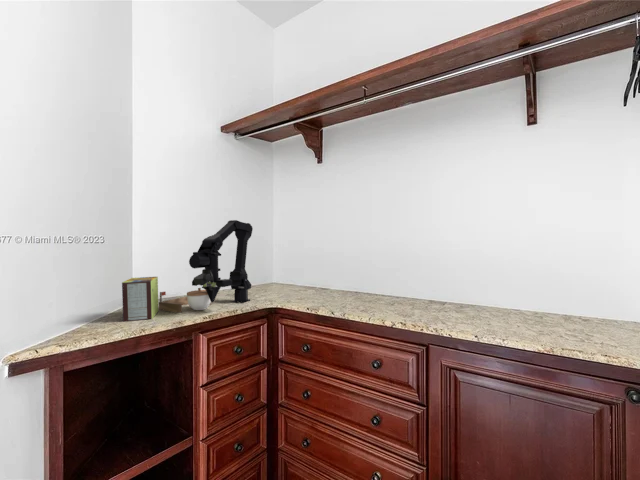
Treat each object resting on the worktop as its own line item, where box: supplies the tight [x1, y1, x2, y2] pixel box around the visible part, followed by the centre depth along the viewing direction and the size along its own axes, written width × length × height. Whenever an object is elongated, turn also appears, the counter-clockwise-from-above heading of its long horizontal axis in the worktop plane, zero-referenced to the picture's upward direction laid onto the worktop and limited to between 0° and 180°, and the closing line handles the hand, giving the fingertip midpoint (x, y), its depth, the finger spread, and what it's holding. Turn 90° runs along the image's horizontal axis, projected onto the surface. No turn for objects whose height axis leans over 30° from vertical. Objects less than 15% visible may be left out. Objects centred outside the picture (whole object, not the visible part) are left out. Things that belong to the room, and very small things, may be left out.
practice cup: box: [158, 291, 212, 314], centre depth 152 cm, size 18×13×8 cm
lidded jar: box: [186, 287, 212, 311], centre depth 147 cm, size 11×11×9 cm
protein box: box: [121, 276, 159, 322], centre depth 135 cm, size 10×15×16 cm
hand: (212, 302), depth 144 cm, fingers closed
